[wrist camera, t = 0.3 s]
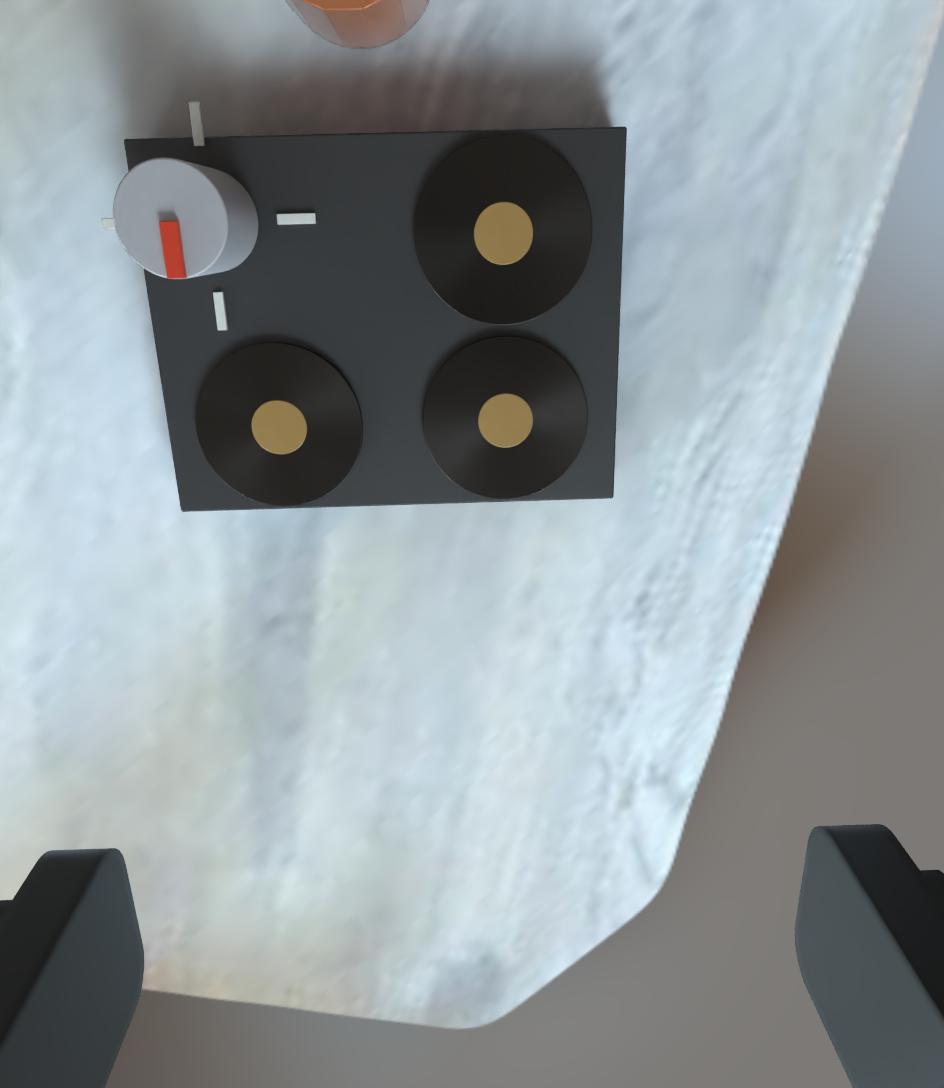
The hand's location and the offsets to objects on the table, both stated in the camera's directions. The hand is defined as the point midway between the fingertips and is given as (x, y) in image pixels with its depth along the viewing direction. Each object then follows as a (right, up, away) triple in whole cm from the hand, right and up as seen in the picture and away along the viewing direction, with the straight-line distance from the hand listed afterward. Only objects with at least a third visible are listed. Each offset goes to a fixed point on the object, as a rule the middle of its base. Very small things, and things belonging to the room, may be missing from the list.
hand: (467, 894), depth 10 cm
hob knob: (-10, +16, +21) cm, 28 cm away
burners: (-3, +12, +23) cm, 26 cm away
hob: (-3, +13, +25) cm, 28 cm away
